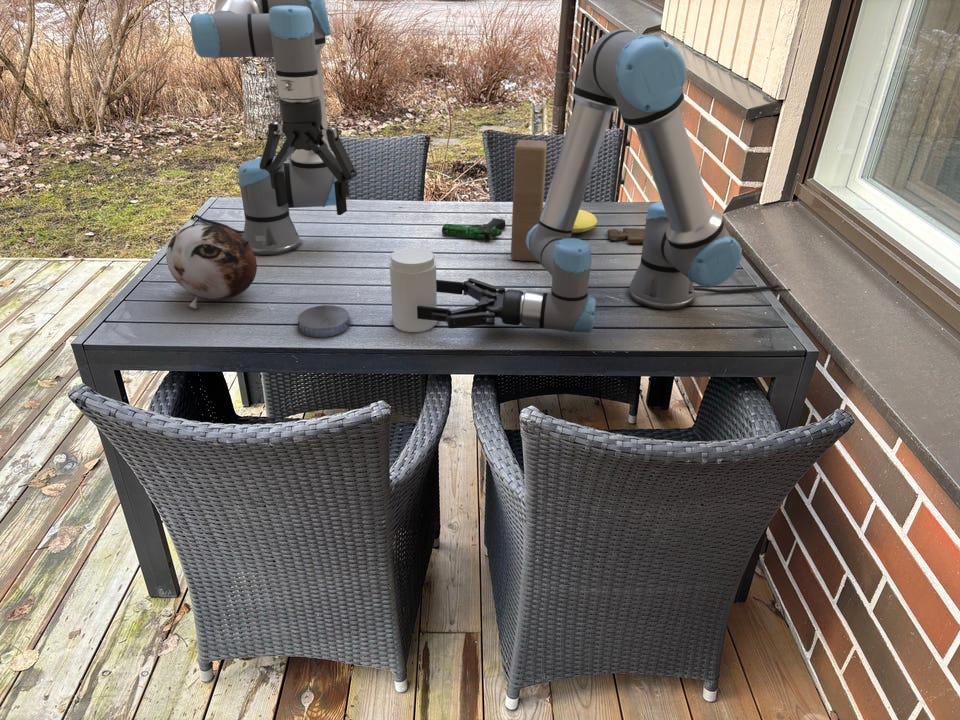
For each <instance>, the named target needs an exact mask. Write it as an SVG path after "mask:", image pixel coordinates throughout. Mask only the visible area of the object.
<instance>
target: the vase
mask: <svg viewBox="0 0 960 720" xmlns="http://www.w3.org/2000/svg"><path fill="white" fill-rule="evenodd" d="M597 223H598V219H597V217H596V215H595V214H593V213H591V212H589V211H587V210H584V209H579V212H578V215H577V218H576V221H575V224H574V227H573V230H572V233H571V234H580V233H584V232H585V233H586V232H587V231H591V230H592V229H594V228H596V226H597Z"/></svg>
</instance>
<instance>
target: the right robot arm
mask: <svg viewBox="0 0 960 720" xmlns="http://www.w3.org/2000/svg"><path fill="white" fill-rule="evenodd" d="M581 65H582V66H581V68H580V70H579V72H578V76H577V79H576V83H575V86H574V88H573V92H572V96H573V99H574V100H575V102H574V106H573V109H572V113H571V116H570V120H569V122H568V126H567V129H566V132H565V136H564V138H563V142H562V146H561V148H560V152H559V155H558V158H557V162H556V165H555V168H554V172H553V175H552V178H551V181H550V184H549V187H548V191H547V194H546V197H545V201H544V203H543V210H542V214H541V217H540V220H539V223H538V224H537V225H535V226H533V227H532V229H531V230H530V231H529V232H528V234H527V237H526V244H527V247H528V249H529V251H530V252H531V254H532V256H533V257H534V258H535V259H536V260H538V261H539V262H538V261H537V262H538V263H540V264H541V265H542V267H543V268H544V269H545V270H546V271H547V272H548V273H549V275H550V276H551V289H550V292H549V293H548V292H541V291H530V290H526V291H525V292H523V290H518V289H506V288H505V287H501V286H496V285H492V284H490V283H488V282H484V281H481V280H478V279H475V278H472V277H469V278H467V280H464V281H463V282H462V281H454V280H443V279H436V292H437V293H441V294H442V293H443V294H451V295H452V294H453V295H462V296H469V297H471V298H472V299H474V300H476V301H477V302H476V303H475V304H474V305H471V306H466V307H462V308H457V309H454V310H451V309H450V308H449V307H448V308H446V307H445V308H443V307H437V308H436V307H426V306H417V319H425V320H434V321H437V322H444V323H446V324H447V329H451V330H452V329H462V328H469V327H477V326H479V327H480V326H495V325H496V319H501V323H502V324H503V325H506V326H507V325H508V326H517V327H518V326H520V324H521V325H522V327H529V328H532V329H536V328H538V329H546V330H553V331H554V330H555V331H561V332H569V333H590V332H591V331H593V329H594V326H595V325H594V324H595V317H596V306H597V300H596V298H594V297H591V296H588V295H589V294H588V290H589V282H590V281H589V280H590V274H591V273H590V272H591V266H592V246H591V245H590V243H589V242H587V241H586V240H582V239H580V238H575V237H572V234H573V233H572V230H573V227H574V224H575V221H576V218H577V215H578V212H579V210H581V205H582V202H583V200H584V197H585V193H586V191H587V188H588V185H589V182H590V179H591V176H592V173H593V170H594V166H595V164H596V160H597V159H598V155H599V152H600V148H601V146H602V143H603V140H604V137H605V134H606V131H607V128H608V125H609V122H610V119H611V116H612V114H613V112H615V111H617V110H618V111H619V113H620V116H621V118H622V121H623V123H624V125H625V126H628V127H630V128H634V130H635V132H636V135H637V138H638V141H639V144H640V147H641V149H642V151H643V154H644V158H645V160H646V163H647V165H648V168H649V171H650V173H651V176H652V179H653V181H654V185H655V187H656V190H657V192H658V196H659V198H660V200H661V201H656V202H654V203H652V204H650V206H649V207H648V209H647V214H646V217H645V225H644V229H645V233H644V240H643V243H642V248H641V256H640V263H639V265H638V267H637V269H636V271H635V274H634V275H633V277H632V279H631V281H630V284H629V286H628V296H629V298H631V300H633V302H635V303H638V304H639V305H642V306H644V307H647V308H652V309H656V310H666V311H668V310H679V309H680V310H681V309H684V308H686V307H689V306H690V305H692V304H693V302H694V297H695V291H697V292H710V293H718V294H719V293H720V294H723V293H725V294H727V293H728V294H729V293H740V292H750V291H752V292H753V291H760V290H771V289H777V288H778V289H779V288H781V287H780V286H779V284H773V285H764V286H763V285H762V286H754V287H744V288H733V289H715V288H712V287H716V286H719V285H721V284H723V283H725V282H726V281H728V280H729V279H730V278H731V277H732V276H733V275H734V274H735V272H736V269H738V267H739V265H740V263H741V261H742V255H743V253H742V247H741V245H740V243H739V242H738V241H737V239H736V238H734V237H733V236H730V235H729V234H728V231H727V229H726V226H725V225H726V224H725V223H724V222H725V221H724V219H723V216H722V214H721V212H719V210H717V209H716V208H715V209H714V208H711V204H710V201H709V198H708V195H707V192H706V189H705V185H704V183H703V179H702V176H701V173H700V170H699V167H698V164H697V160H696V158H695V153H694V152H693V148H692V145H691V141H690V139H689V135H688V133H687V129H686V125H685V123H684V120H683V117H682V113H681V111H680V109H681V106H682V105H683V103H684V101H685V94H684V88H683V87H684V84H685V83H686V82H687V65H686V62H685V59H684V57H683V55H682V53H681V51H680V50H679V49H678V48H677V47H676V46H675V45H674V44H673V43H671V42H669V41H667V40H666V39H664V38H662V37H660V36H656V35H646V34H644V33H639V32H636V31H632V30H628V29H616V30H611V31H609V32H607V33H605V34H604V35H602V36H601V37H600V38H598V40H596V41H595V42H594V44H593V45H592V46H591V48H590V49H589V51H588V52H587V55H586V56H585V59H584V60H583V62H582V64H581ZM694 284H695V285H697V286H700V287H694Z"/></svg>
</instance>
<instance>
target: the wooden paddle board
mask: <svg viewBox="0 0 960 720" xmlns="http://www.w3.org/2000/svg"><path fill="white" fill-rule="evenodd" d="M606 233H607V236H608V239H609V241H611V242H618V241H624V240H627V243H628V244H643V240H644V233H645V228H635V227H634V228H630V227H629V228H628V227H625V228H622V230H618V229H616V228H612V229H611V228H610V229H607V231H606Z"/></svg>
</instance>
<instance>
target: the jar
mask: <svg viewBox="0 0 960 720" xmlns="http://www.w3.org/2000/svg"><path fill="white" fill-rule="evenodd" d="M435 257H436V256H435V253H434V252H433V251H432V250H430V249H427V248H423V247H418V246H417V247H415V246H413V247H412V246H411V247H402V248H399V249H397V250H395V251H393V252H392V253H391V254H390V262H389V277H390V279H389V281H390V295H391V298H390V299H391V313H392V314H391V315H392V325H393V326H394V327H395V328H396V329H397V330H400V331H402V332H408V333H421V332H425V331H428V330H431V329H433V328H434V327H435V326H436V325H437V323H438V321H434V320H425V319H417V306H426V307H436V308H438V303H437V301H438V300H437V297H438V296H437V293H438V292H436V280H437V262H436V261H435Z"/></svg>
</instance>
